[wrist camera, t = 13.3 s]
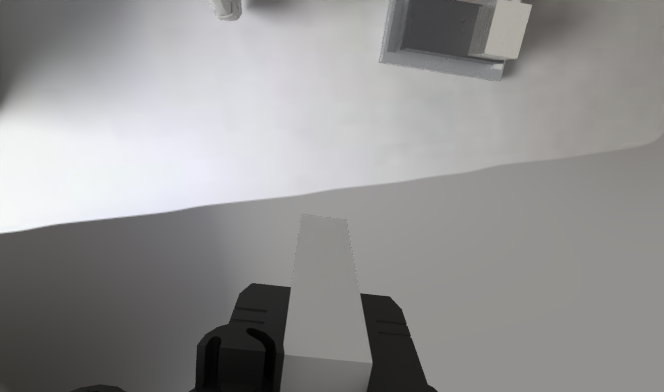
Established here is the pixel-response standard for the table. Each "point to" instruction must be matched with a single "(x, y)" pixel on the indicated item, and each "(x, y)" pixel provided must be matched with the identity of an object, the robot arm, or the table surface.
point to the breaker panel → (454, 35)
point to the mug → (227, 9)
